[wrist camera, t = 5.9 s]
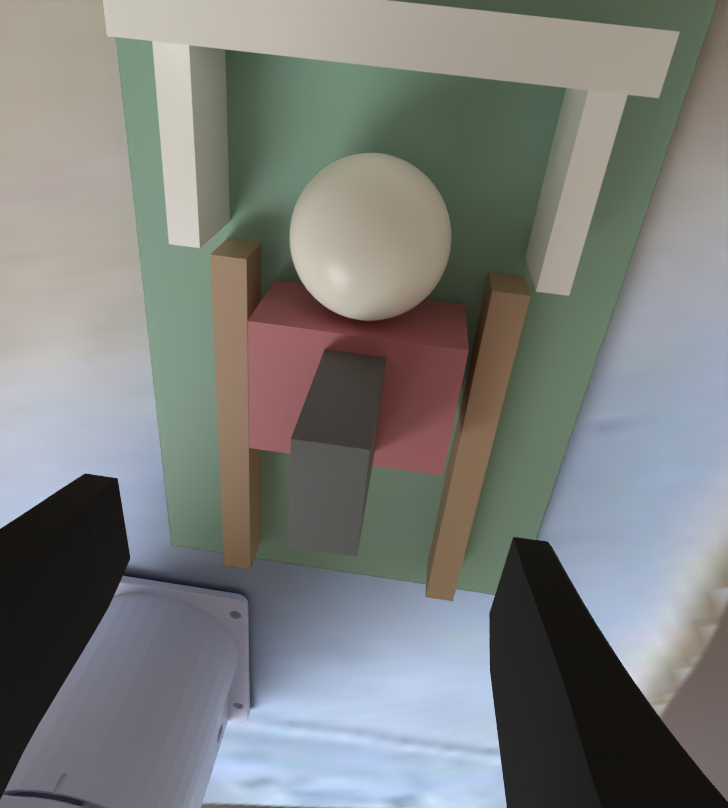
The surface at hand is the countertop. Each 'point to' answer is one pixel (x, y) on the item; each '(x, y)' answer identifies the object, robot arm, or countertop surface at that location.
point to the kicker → (350, 402)
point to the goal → (401, 49)
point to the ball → (370, 236)
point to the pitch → (460, 283)
